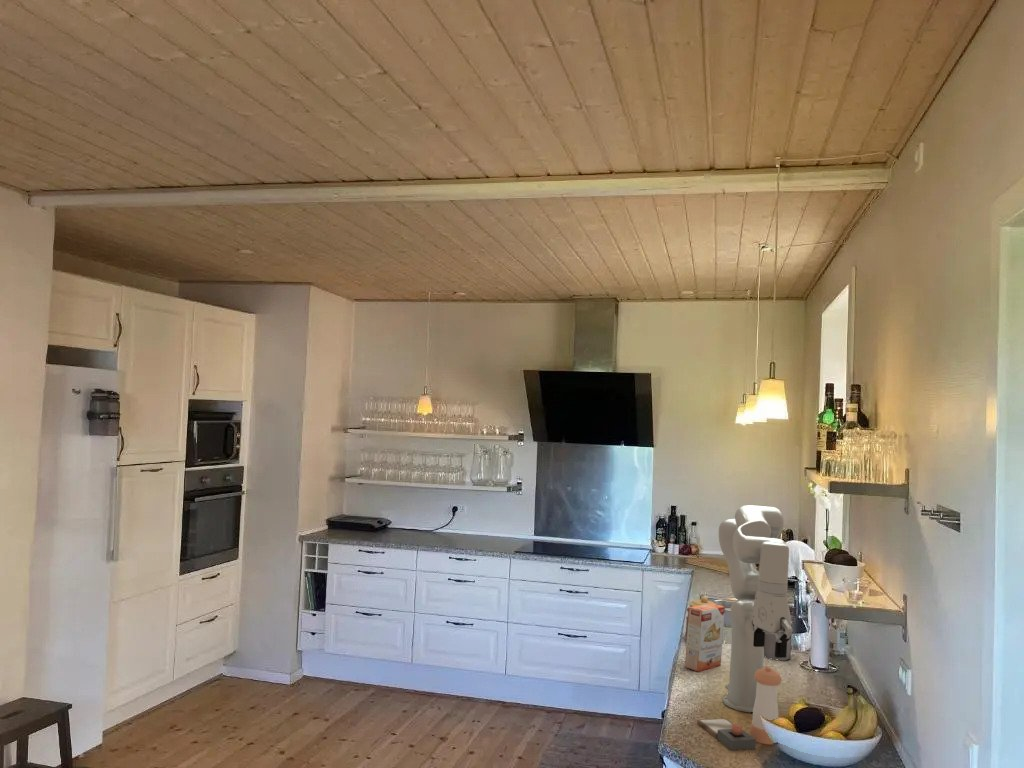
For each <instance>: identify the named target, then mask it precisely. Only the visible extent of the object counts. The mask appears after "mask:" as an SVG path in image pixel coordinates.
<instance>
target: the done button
mask: <svg viewBox="0 0 1024 768" xmlns="http://www.w3.org/2000/svg"><path fill="white" fill-rule="evenodd" d="M742 730H743V725H742V724H739V723H733V724H732V734H734V735H742Z"/></svg>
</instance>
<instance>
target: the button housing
mask: <svg viewBox="0 0 1024 768" xmlns="http://www.w3.org/2000/svg"><path fill="white" fill-rule="evenodd" d="M716 739H717V740H718V741H719V742H720V743H721V744H723V745H724V746H725V747H727V749H729V750H730V751H743V750H742V749H748V750H756V743H757V742H756V739H755V738H753V737H752V736H751V735H750V734H749V733H748V732H747V731H745V730H743V729H742V735H734V734H732V729H720V730H718V735H717V738H716Z"/></svg>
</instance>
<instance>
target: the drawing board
mask: <svg viewBox="0 0 1024 768" xmlns="http://www.w3.org/2000/svg"><path fill="white" fill-rule="evenodd" d="M697 723H698V724H697ZM696 724H697V725H698V726H699V727H701V728H702V729H704V730H705V731H706V732H707V733H709V734H710V735H712V737H713V738H715V739H717V735H718V730H720V729H732V724H734V723H733V722H731V721H730V720H728V719H727V718H724V717H723V718H722V717H721V718H706V719H704V718H703V719H697V721H696Z"/></svg>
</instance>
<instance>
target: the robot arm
mask: <svg viewBox="0 0 1024 768" xmlns="http://www.w3.org/2000/svg"><path fill="white" fill-rule="evenodd" d="M784 520H785V519H784V516H783V513H782V511H781V510H780V509H778V508H777V507H774V506H765V505H764V506H762V505H756V504H755V505H753V504H747V505H742V506H740V507H738V509H737V510H736V512H735V513H734V518H728V519H725V520H723V521H721V522H720V524H719V527H718V541H719V542H718V543H719V546H720V549H721V551H722V554H723V556H724V558H725V561H726V562H727V566H728V571H729V572H728V573H729V579H730V580H729V582H730V588H731V592H732V595H733V597H734V598H735V599H736V600H735V601H733V602H732V604H731V605H730V608H729V609H730V611H729V613H730V623H731V624H730V625H731V626H730V627H731V646H730V647H731V649H730V667H729V669H730V670H729V684H728V683H727V684H726V683H725V685H724V688H725V689H726V690H727V694H725V695H724V696H723V697H722V702H723V704H724V705H725V706H726V707H728V708H731V709H733V710H735V711H739V712H744V713H751V712H753V708H754V703H755V699H756V687H757V681H756V680H755V678H754V674H755V672H756V671H757V670H758V669H762V668H764V661H765V660H764V659H765V658H764V657H765V656H764V643H765V633H767V634H775V636H776V639H777V642H776V643H775V657H776V658H785V657H786V654H787V643H788V642H789V639H790V638H791V639H792V636H791V634H792V635H793V631H794V630H793V629H794V628H793V626H792V627H791V621H792V618H791V611H790V607H789V601H788V585H789V583H788V582H789V581H788V579H789V566H790V565H789V563H790V561H789V559H790V548H789V546H788V544H787V543H786V542H785V541H784V540H783V539H781V538H779V537H780V535H781V533H782V531H783V530H784V524H785V523H784V522H785V521H784ZM757 564H758V565H759V566H758V567H759V568H758V569H757ZM779 634H782V636H781V637H780V635H779Z"/></svg>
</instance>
